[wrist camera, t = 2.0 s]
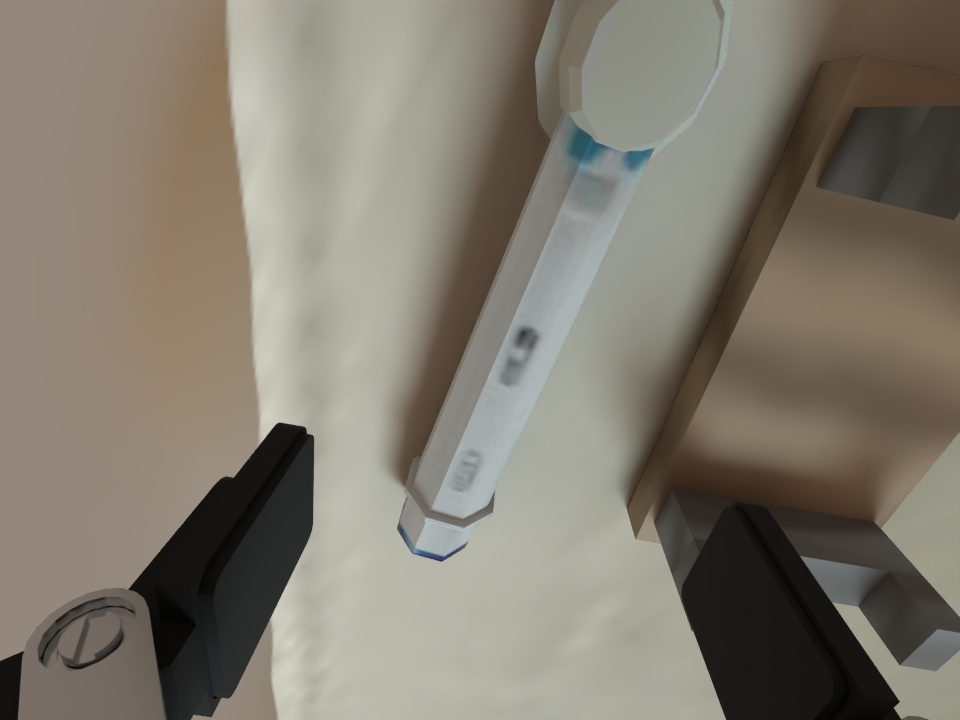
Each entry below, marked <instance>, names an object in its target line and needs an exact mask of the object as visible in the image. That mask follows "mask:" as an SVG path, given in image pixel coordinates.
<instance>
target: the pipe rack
mask: <svg viewBox="0 0 960 720" xmlns="http://www.w3.org/2000/svg"><path fill="white" fill-rule="evenodd" d="M959 432H960V75H958V74H953V73H948V72H943V71H938V70H933V69H928V68H923V67H918V66H913V65H908V64H903V63H898V62H893V61H888V60H883V59H878V58H873V57H868V56H857V57H851V58H845V59H839V60H833V61H827V62H823V64H822V66H821V68H820V71H819V73H818V75H817V78H816V80H815V82H814V84H813V87H812V89H811V91H810V94H809V96H808V98H807V100H806V103H805V105H804V107H803V110H802V112H801V114H800V116H799V119H798V121H797V123H796V125H795V128H794V130H793V132H792V135H791V137H790V139H789V141H788V144H787V146H786V148H785V151H784V153H783V155H782V157H781V160H780V162H779V164H778V167H777V169H776V171H775V173H774V176H773V178H772V180H771V183H770V185H769V187H768V189H767V192H766V194H765V196H764V198H763V201H762V203H761V205H760V208H759V210H758V212H757V214H756V217H755V219H754V221H753V224H752V226H751V228H750V230H749V233H748V235H747V237H746V240H745V242H744V244H743V246H742V249H741V251H740V253H739V255H738V258H737V260H736V262H735V265H734V267H733V269H732V271H731V274H730V276H729V278H728V281H727V283H726V285H725V287H724V290H723V292H722V294H721V297H720V299H719V301H718V303H717V306H716V308H715V310H714V313H713V315H712V317H711V319H710V322H709V324H708V326H707V328H706V331H705V333H704V335H703V338H702V340H701V342H700V344H699V347H698V349H697V351H696V354H695V356H694V358H693V360H692V363H691V365H690V367H689V370H688V372H687V374H686V376H685V379H684V381H683V383H682V385H681V388H680V390H679V392H678V395H677V397H676V399H675V401H674V404H673V406H672V408H671V411H670V413H669V415H668V417H667V420H666V422H665V424H664V427H663V429H662V431H661V433H660V436H659V438H658V440H657V443H656V445H655V447H654V449H653V452H652V454H651V456H650V458H649V461H648V463H647V465H646V468H645V470H644V472H643V474H642V477H641V479H640V481H639V484H638V486H637V488H636V490H635V493H634V495H633V497H632V500H631V502H630V504H629V506H628V509H627V512H628V515H629V518H630V522H631V525H632V529H633V532H634V535H635V539H637V540H643V541H649V542H655V543H661V545H662V547H663V550H664V553H665V556H666V559H667V562H668V564H669V567H670V570H671V573H672V576H673V579H674V582H675V584H676V587H677V590H678V593H679V596H680V599H681V602H682V604H683V601H682V595H681V591H682V586H683V583H684V581H685V579H686V578H687V576H688V574H689V572H690V570H691V568H692V566H693V565H694V563H695V561H696V559H697V557H698V555H699V554H700V552H701V550H702V548H703V546H704V544H705V543H706V541H707V539H708V537H709V535H710V533H711V532H712V530H713V528H714V526H715V524H716V522H717V520H718V519H719V517H720V515H721V513H722V511H723V510H724V508H726V507H730V506H731V505H732V504H733V503H735V502H744V503H750V504H756V505H762V506H764V507H766V508H767V509H768V510H769V511H770V513H771V514H772V516H773V517H774V519H775V520H776V522H777V523H778V525H779V526H780V528H781V529H782V530H783V532H784V533H785V535H786V536H787V538H788V539H789V541H790V542H791V544H792V545H793V547H794V548H795V549H796V551H797V552H798V554H799V555H800V557H801V558H802V560H803V561H804V563H805V564H806V566H807V567H808V568H809V570H810V571H811V573H812V574H813V576H814V577H815V579H816V580H817V582H818V583H819V585H820V586H821V587H822V589H823V590H824V592H825V593H826V595H827V596H828V598H829V599H830V601H831V602H834V603H840V604H846V605H852V606H858V607H859V608H860V610H861V611H862V612H863V614H864V615H865V617H866V618H867V620H868V621H869V622H870V624H871V625H872V627H873V628H874V629H875V631H876V632H877V634H878V635H879V637H880V638H881V639H882V641H883V642H884V644H885V645H886V646H887V648H888V649H889V651H890V652H891V654H892V655H893V656H894V658H895V659H896V661H897V662H898V663H899V665H901V666H907V667H913V668H920V669H926V670H932V671H937V670H938V669H939V668H940V667H941V666H942V665H943V664H945V663H946V662H947V661H948V660H949V659H950V658H951V657H952V656H954V655H955V654H956V653H957V652H958V651H959V650H960V617H959V616H958V615H957V614H956V613H955V611H954V610H953V609H952V608H951V607H950V606H949V605H948V604H947V603H946V601H945V600H944V599H943V598H942V597H941V596H940V595H939V594H938V592H937V591H936V590H935V589H934V588H933V587H932V586H931V585H930V583H929V582H928V581H927V580H926V579H925V578H924V577H923V576H922V575H921V573H920V572H919V571H918V570H917V569H916V568H915V567H914V566H913V564H912V563H911V562H910V561H909V560H908V559H907V558H906V557H905V556H904V554H903V553H902V552H901V551H900V550H899V549H898V548H897V547H896V545H895V544H894V543H893V542H892V541H891V540H890V539H889V538H888V536H887V535H886V534H885V533H884V532H883V531H882V530H881V528H882V526H883V525H884V524H885V523H886V522H887V520H888V519H889V518H890V517H891V515H892V514H893V513H894V512H895V510H896V509H897V508H898V507H899V506H900V504H901V503H902V502H903V501H904V499H905V498H906V497H907V496H908V495H909V493H910V492H911V491H912V490H913V488H914V487H915V486H916V485H917V484H918V482H919V481H920V480H921V479H922V477H923V476H924V475H925V474H926V472H927V471H928V470H929V469H930V468H931V466H932V465H933V464H934V463H935V461H936V460H937V459H938V458H939V457H940V455H941V454H942V453H943V452H944V450H945V449H946V448H947V447H948V445H949V444H950V443H951V442H952V441H953V439H954V438H955V437H956V436H957V434H958V433H959ZM683 607H684V604H683ZM684 610H685V607H684ZM685 613H686V616H687V619H688V621H689V624H690V627H691V630H692V631H693V628H692V626H691V623H690V620H689V618H688V615H687V612H686V610H685ZM693 632H694V631H693Z"/></svg>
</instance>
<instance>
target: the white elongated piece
mask: <svg viewBox="0 0 960 720" xmlns="http://www.w3.org/2000/svg"><path fill="white" fill-rule="evenodd" d="M733 3H734V0H554V3H553V6H552V9H551V12H550V15H549V18H548V21H547V24H546V27H545V31H544V34H543V37H542V40H541V43H540V46H539V49H538V52H537V55H536V58H535V74H536V91H537V108H538V121H539V123H540V124H541V126H542V127H543V129H544V131H545V132H546V134H547V135H548V137H549V139H550V140H551V141H550V144H549V146H548V148H547V151H546V153H545V156H544V158H543V161H542V163H541V166H540V168H539V170H538V173H537V175H536V178H535V180H534V183H533V185H532V188H531V190H530V192H529V195H528V197H527V200H526V202H525V205H524V207H523V210H522V212H521V214H520V217H519V219H518V222H517V224H516V227H515V229H514V232H513V234H512V236H511V239H510V241H509V244H508V246H507V249H506V251H505V254H504V256H503V258H502V261H501V263H500V266H499V268H498V271H497V273H496V276H495V278H494V280H493V283H492V285H491V288H490V290H489V293H488V295H487V298H486V300H485V302H484V305H483V307H482V310H481V312H480V315H479V317H478V320H477V322H476V324H475V327H474V329H473V332H472V334H471V337H470V339H469V342H468V344H467V346H466V349H465V351H464V354H463V356H462V359H461V361H460V364H459V366H458V368H457V371H456V373H455V376H454V378H453V381H452V383H451V386H450V388H449V390H448V393H447V395H446V398H445V400H444V403H443V405H442V408H441V410H440V412H439V415H438V417H437V420H436V422H435V425H434V427H433V430H432V432H431V434H430V437H429V439H428V442H427V444H426V447H425V449H424V452H423V454H422V455H420V456H417V457H414V458H413V461H412V464H411V467H410V471H409V474H408V478H407V481H406V484H405V488H404V492H405V494H406V495H407V497H406V500H405V503H404V506H403V509H402V513H401V516H400V520H399V523H398V527H397V530H398V532H399V533H400V535H401V536H402V538H403V539H404V541H405V543H406V544H407V546H408V547H409V549H410V551H411V552H412V554H416V555H419V556H423V557H426V558H430V559H434V560H437V561H441V562H442V561H444V560H445V559H447V558H449V557H450V556H452V555H454V554H455V553H457V552H459V551H461V550H462V549H464V548H465V547H466V545H467V543H468V541H469V539H470V537H471V536H472V534H473V532H474V530H475V528H476V526H477V525H478V523H479V522H481V521H483V520H485V519H486V518H488V517H490V516H491V515H492V513H493V506H494V496H495V489H496V487H497V484H498V482H499V480H500V478H501V476H502V474H503V472H504V470H505V467H506V465H507V463H508V461H509V459H510V457H511V455H512V452H513V450H514V448H515V446H516V444H517V442H518V440H519V437H520V435H521V433H522V431H523V429H524V427H525V425H526V422H527V420H528V418H529V416H530V414H531V412H532V410H533V408H534V405H535V403H536V401H537V399H538V397H539V395H540V393H541V390H542V388H543V386H544V384H545V382H546V380H547V378H548V375H549V373H550V371H551V369H552V367H553V365H554V363H555V360H556V358H557V356H558V354H559V352H560V350H561V348H562V345H563V343H564V341H565V339H566V337H567V335H568V333H569V331H570V328H571V326H572V324H573V322H574V320H575V318H576V316H577V313H578V311H579V309H580V307H581V305H582V303H583V301H584V298H585V296H586V294H587V292H588V290H589V288H590V286H591V283H592V281H593V279H594V277H595V275H596V273H597V271H598V268H599V266H600V264H601V262H602V260H603V258H604V256H605V254H606V251H607V249H608V247H609V245H610V243H611V241H612V239H613V236H614V234H615V232H616V230H617V228H618V226H619V224H620V221H621V219H622V217H623V215H624V213H625V211H626V209H627V206H628V204H629V202H630V200H631V198H632V196H633V194H634V192H635V189H636V187H637V185H638V183H639V181H640V179H641V177H642V174H643V172H644V170H645V168H646V166H647V164H648V162H649V161H650V160H651V159H652V158H653V157H655V156H656V155H657V154H658V153H659V152H660V151H661V150H663V149H664V148H665V147H666V146H667V145H668V144H669V143H670V142H672V141H673V140H674V139H675V138H676V137H677V136H678V135H680V134H681V133H682V132H683V131H684V130H685V129H686V128H688V127H689V126H690V125H691V124H692V123H693V121H694V119H695V118H696V116H697V114H698V112H699V110H700V108H701V106H702V105H703V103H704V101H705V99H706V97H707V95H708V94H709V92H710V90H711V88H712V86H713V84H714V82H715V81H716V79H717V77H718V75H719V73H720V71H721V69H722V68H723V66H724V64H725V62H726V55H727V47H728V40H729V33H730V25H731V18H732V10H733Z"/></svg>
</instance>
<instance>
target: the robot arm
mask: <svg viewBox="0 0 960 720" xmlns="http://www.w3.org/2000/svg"><path fill="white" fill-rule="evenodd" d="M313 485H314V437H313V435H310V434H307V430H306V428H305V427H303V426H297V425H291V424H285V423H277V424H276V425H275V426H274V428H273V429H272V430H271V431H270V433H269V434H268V435H267V436H266V438H265V439H264V440H263V441H262V443H261V444H260V445H259V447H258V448H257V449H256V450H255V452H254V453H253V454H252V455H251V457H250V458H249V459H248V460H247V462H246V463H245V464H244V466H243V467H242V468H241V469H240V471H239V472H238V473H237V474H236V476H235V477H234V478H232V477H224V478H222V479H220V480H219V481H218V482H217V483H216V484H215V485H214V486H213V488H212V489H211V490H210V491H209V493H208V494H207V495H206V496H205V498H204V499H203V500H202V501H201V502H200V504H199V505H198V506H197V507H196V508H195V509H194V511H193V512H192V513H191V514H190V516H189V517H188V518H187V519H186V520H185V522H184V523H183V524H182V525H181V527H180V528H179V529H178V530H177V531H176V532H175V534H174V535H173V536H172V537H171V538H170V540H169V541H168V542H167V543H166V545H165V546H164V547H163V548H162V549H161V551H160V552H159V553H158V554H157V555H156V557H155V558H154V559H153V560H152V561H151V563H150V564H149V565H148V566H147V568H146V569H145V570H144V571H143V572H142V574H141V575H140V576H139V577H138V578H137V580H136V581H135V582H134V583H133V584H132V586H131V587H130V588H129V589H128V590H127V589H123V588H112V589H103V590H99V591H95V592H91V593H87V594H85V595H83V596H81V597H78V598H76V599H74V600H72V601H69V602H68V603H66V604H65V605H63V606H62V607H60V608H59V609H57V610H56V611H54V612H53V613H51V614H50V615H49V616H48V617H47V618H46V619H45V620H44V621H43V622H42V623H41V624H40V625H39V626H38V627H37V628H36V629H35V631H34V632H33V634H32V635H31V637H30V638H29V640H28V641H27V643H26V646H25V650H24V651H23V652H20V653H18V654H16V655H13V656H11V657H9V658H7V659H4V660H2V661H0V720H191V718H192V716H193V715H201V716H207V717H212V715H213V713H214V711H215V709H216V707H217V705H218V703H219V701H220V699H221V698H230V697H231V696H232V694H233V693H234V691H235V689H236V688H237V685H238V683H239V681H240V679H241V677H242V675H243V673H244V671H245V669H246V667H247V665H248V663H249V661H250V659H251V657H252V655H253V653H254V651H255V649H256V647H257V644H258V642H259V640H260V638H261V636H262V634H263V632H264V630H265V628H266V626H267V624H268V622H269V620H270V618H271V616H272V614H273V612H274V610H275V608H276V606H277V603H278V601H279V599H280V597H281V595H282V593H283V591H284V589H285V587H286V585H287V583H288V581H289V579H290V577H291V575H292V573H293V571H294V569H295V567H296V564H297V562H298V560H299V558H300V556H301V554H302V552H303V550H304V548H305V546H306V544H307V542H308V540H309V537H310V534H311V531H312V526H313ZM681 595H682V601H683V604H684V607H685V610H686V612H687V615H688V618H689V620H690V623H691V626H692V628H693V631H694V634H695V637H696V639H697V642H698V645H699V647H700V650H701V653H702V656H703V658H704V661H705V664H706V666H707V669H708V672H709V674H710V677H711V680H712V683H713V685H714V688H715V691H716V693H717V696H718V699H719V702H720V704H721V707H722V710H723V712H724V715H725V718H726V720H928V719H925V718H922V717H917V716H907V717H905V718H903V719H901V718H900V717H899V715H898V714H897V712H896V711H895V709H894V707H895V706H896V705H897V704H898V703H899V702H900V701H899V700H898V698H897V697H896V696H895V694H894V693H893V691H892V690H891V688H890V687H889V685H888V684H887V682H886V681H885V679H884V678H883V677H882V675H881V674H880V672H879V671H878V669H877V668H876V666H875V665H874V663H873V662H872V660H871V659H870V658H869V656H868V655H867V653H866V652H865V650H864V649H863V647H862V646H861V644H860V643H859V641H858V640H857V639H856V637H855V636H854V634H853V633H852V631H851V630H850V628H849V627H848V625H847V624H846V622H845V621H844V620H843V618H842V617H841V615H840V614H839V612H838V611H837V609H836V608H835V606H834V605H833V604H832V602H831V601H830V599H829V598H828V596H827V595H826V593H825V592H824V590H823V589H822V587H821V586H820V585H819V583H818V582H817V580H816V579H815V577H814V576H813V574H812V573H811V571H810V570H809V568H808V567H807V566H806V564H805V563H804V561H803V560H802V558H801V557H800V555H799V554H798V552H797V551H796V549H795V548H794V547H793V545H792V544H791V542H790V541H789V539H788V538H787V536H786V535H785V533H784V532H783V530H782V529H781V528H780V526H779V525H778V523H777V522H776V520H775V519H774V517H773V516H772V514H771V513H770V511H769V510H768V509H767V508H766V507H764V506H762V505H756V504H750V503H744V502H735V503H733V504H732V505H731V506H730V507H726V508H724V510H723V511H722V513H721V515H720V517H719V519H718V520H717V522H716V524H715V526H714V528H713V530H712V532H711V533H710V535H709V537H708V539H707V541H706V543H705V544H704V546H703V548H702V550H701V552H700V554H699V555H698V557H697V559H696V561H695V563H694V565H693V566H692V568H691V570H690V572H689V574H688V576H687V578H686V579H685V581H684V583H683V586H682V591H681Z"/></svg>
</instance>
